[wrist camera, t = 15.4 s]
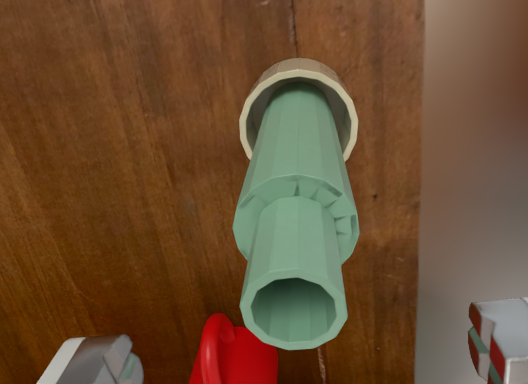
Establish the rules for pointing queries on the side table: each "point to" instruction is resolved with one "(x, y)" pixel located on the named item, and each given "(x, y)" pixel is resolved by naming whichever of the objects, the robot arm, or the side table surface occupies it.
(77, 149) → the side table surface
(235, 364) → the mug
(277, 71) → the holder
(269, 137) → the bottle
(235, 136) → the side table surface
